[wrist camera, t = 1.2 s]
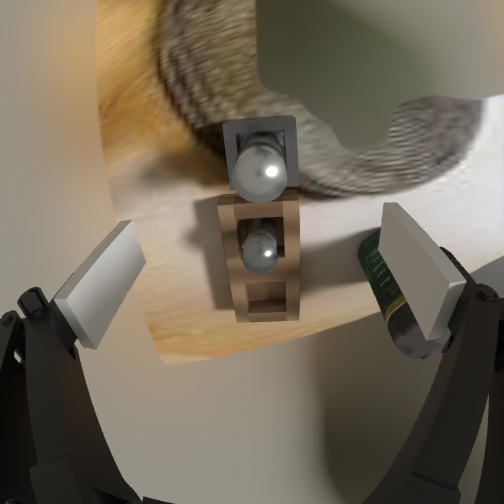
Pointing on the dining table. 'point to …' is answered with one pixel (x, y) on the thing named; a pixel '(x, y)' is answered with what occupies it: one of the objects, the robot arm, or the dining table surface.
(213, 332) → the dining table surface
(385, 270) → the coffee jar
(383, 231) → the robot arm
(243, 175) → the grey metal cylinder
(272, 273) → the rack
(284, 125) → the socket block
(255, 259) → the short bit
